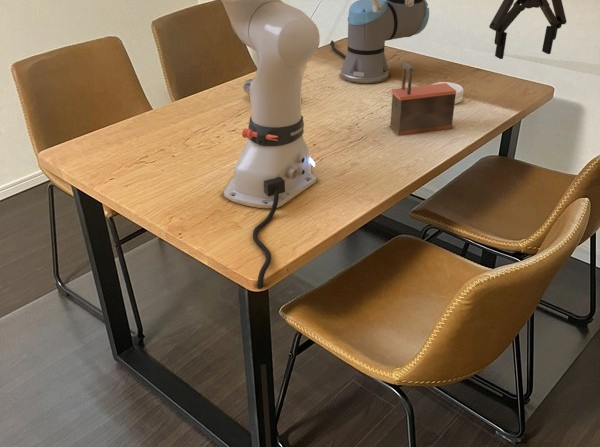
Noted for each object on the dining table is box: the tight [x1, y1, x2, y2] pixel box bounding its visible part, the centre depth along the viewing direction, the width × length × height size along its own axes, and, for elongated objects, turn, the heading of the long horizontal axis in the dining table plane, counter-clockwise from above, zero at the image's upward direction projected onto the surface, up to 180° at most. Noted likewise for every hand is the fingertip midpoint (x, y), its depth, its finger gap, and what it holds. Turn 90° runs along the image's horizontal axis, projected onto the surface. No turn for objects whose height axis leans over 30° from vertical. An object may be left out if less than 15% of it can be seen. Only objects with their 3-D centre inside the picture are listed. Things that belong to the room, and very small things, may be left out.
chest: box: [389, 93, 456, 136], centre depth 163 cm, size 15×6×10 cm, turn 105°
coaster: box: [431, 81, 465, 105], centre depth 182 cm, size 10×10×4 cm
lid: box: [390, 61, 456, 100], centre depth 158 cm, size 16×6×8 cm, turn 105°
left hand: (393, 8), depth 149 cm, fingers open, 8 cm apart
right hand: (522, 55), depth 160 cm, fingers open, 13 cm apart
